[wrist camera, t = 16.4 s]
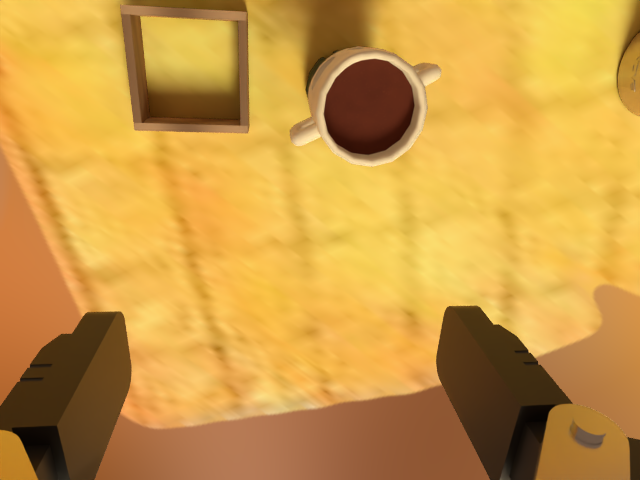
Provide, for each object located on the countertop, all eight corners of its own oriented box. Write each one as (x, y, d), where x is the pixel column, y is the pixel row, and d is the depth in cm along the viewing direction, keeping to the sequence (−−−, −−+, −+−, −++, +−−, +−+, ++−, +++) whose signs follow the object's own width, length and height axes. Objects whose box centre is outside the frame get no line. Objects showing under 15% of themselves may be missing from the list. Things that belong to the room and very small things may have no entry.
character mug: (383, 18, 38) (436, 11, 27) (412, 99, 41) (470, 125, 30) (266, 77, 39) (267, 96, 27) (302, 152, 42) (317, 197, 30)
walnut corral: (247, 13, 37) (246, 11, 34) (249, 126, 41) (248, 133, 38) (131, 7, 36) (120, 4, 33) (143, 123, 40) (134, 130, 37)
